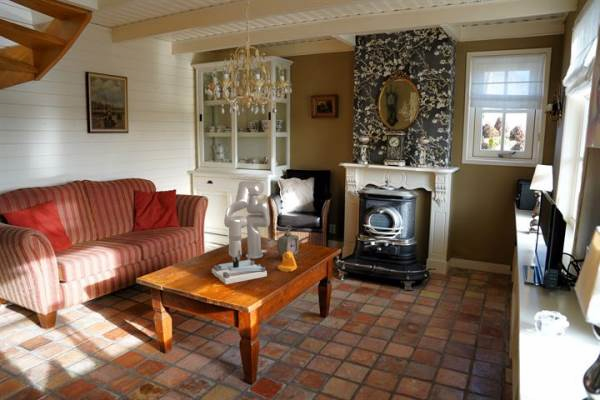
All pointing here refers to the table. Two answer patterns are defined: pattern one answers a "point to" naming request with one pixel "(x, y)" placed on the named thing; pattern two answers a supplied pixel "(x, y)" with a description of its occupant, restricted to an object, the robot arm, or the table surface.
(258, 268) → the lever
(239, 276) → the board
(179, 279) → the table surface
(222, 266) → the lever
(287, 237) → the tabletop clock
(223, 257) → the table surface
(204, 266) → the table surface
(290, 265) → the bracket
